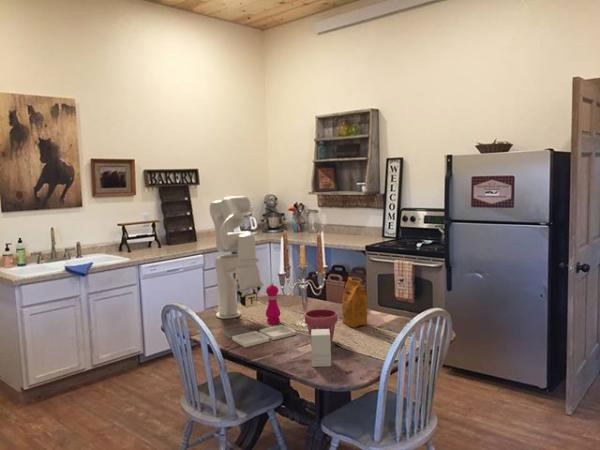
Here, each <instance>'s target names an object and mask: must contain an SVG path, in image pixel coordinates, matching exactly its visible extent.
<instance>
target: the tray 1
mask: <svg viewBox="0 0 600 450" xmlns="http://www.w3.org/2000/svg"><path fill="white" fill-rule="evenodd" d="M231 340H232V341H233V342H235V343H237V344H239V345H240V346H242V347H244V348H249V347H251V346H257V345H259V344H264V343H267V342H270V338H269V337H267V336H265V335H263V334H261V333H260V331H257V330H253V331H252V332H249V333H244V334H240V335H236V336H232V338H231Z"/></svg>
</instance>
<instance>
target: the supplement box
mask: <svg viewBox="0 0 600 450" xmlns="http://www.w3.org/2000/svg"><path fill="white" fill-rule="evenodd" d="M310 342H311V346H310V347H311V364H312V365H311V366H312V367H313V368H317V367H331V366H332V352H331V351H332V349H331V348H332V347H331V344H332V343H330V331H329V329H311V339H310Z"/></svg>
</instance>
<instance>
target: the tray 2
mask: <svg viewBox="0 0 600 450" xmlns="http://www.w3.org/2000/svg"><path fill="white" fill-rule="evenodd" d="M259 333H261V334H263V335H265V336H267V337H269V340H270V339H271V340H273V341H275V340H279V339H282V338H283V339H285V338H287V337H291V336H294V335H295V336H296V335H297V331H296V330H294V329H293V328H291V327H289V326H285V325H283V324H279V325H274V326H271V327H270V326H269V327H266V328H262V329H259Z"/></svg>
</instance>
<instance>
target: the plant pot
mask: <svg viewBox="0 0 600 450" xmlns="http://www.w3.org/2000/svg"><path fill="white" fill-rule="evenodd" d="M304 323H305V325H306V326H307V330H308V335H309V339H310V340H311V329H329V331H330V344H332V343H333V340H334V339H333V338H334V335H335V327H336V324H337V323H338V312H337V311H336V310H334V309H330V308H329V309H327V308H326V309H325V308H316V309H311V310H307V311H306V312H305V313H304Z"/></svg>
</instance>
